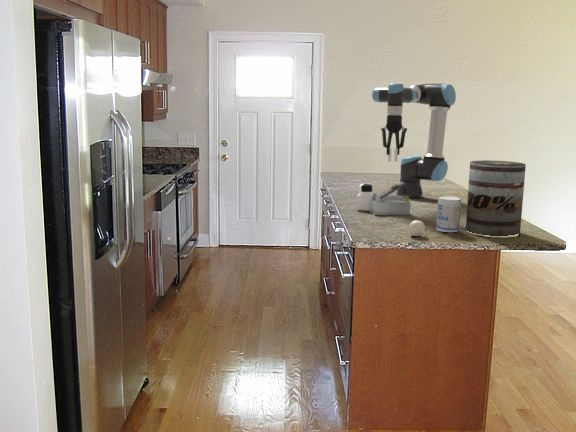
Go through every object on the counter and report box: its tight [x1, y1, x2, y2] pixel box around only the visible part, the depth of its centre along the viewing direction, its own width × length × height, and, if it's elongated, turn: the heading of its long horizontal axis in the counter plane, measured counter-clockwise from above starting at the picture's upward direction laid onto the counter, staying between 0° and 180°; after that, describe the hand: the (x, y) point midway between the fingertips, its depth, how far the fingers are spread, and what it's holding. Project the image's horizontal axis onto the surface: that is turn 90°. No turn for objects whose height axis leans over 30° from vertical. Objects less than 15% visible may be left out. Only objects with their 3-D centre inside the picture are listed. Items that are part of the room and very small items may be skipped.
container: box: [355, 183, 373, 212], centre depth 330 cm, size 8×8×13 cm
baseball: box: [408, 219, 426, 237], centre depth 268 cm, size 7×7×7 cm
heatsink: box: [368, 192, 411, 216], centre depth 321 cm, size 18×10×10 cm, turn 97°
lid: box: [375, 182, 406, 199], centre depth 320 cm, size 16×4×2 cm, turn 97°
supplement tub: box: [435, 195, 462, 233], centre depth 278 cm, size 10×10×15 cm
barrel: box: [465, 159, 527, 236], centre depth 277 cm, size 22×22×30 cm
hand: (392, 161), depth 330 cm, fingers open, 3 cm apart
